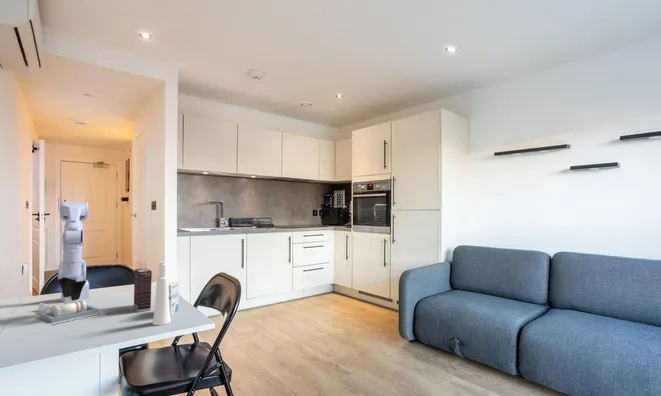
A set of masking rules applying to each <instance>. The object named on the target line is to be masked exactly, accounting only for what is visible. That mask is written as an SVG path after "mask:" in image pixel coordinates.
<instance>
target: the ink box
mask: <svg viewBox="0 0 661 396" xmlns="http://www.w3.org/2000/svg"><path fill="white" fill-rule="evenodd" d="M179 282H180V281H178V280H172V281H171V280H170V281H169V280H168V286H169V311H170V317H172V315H174V314H175V313H177V311H179V287H180V286H179V284H180V283H179Z"/></svg>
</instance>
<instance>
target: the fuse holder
mask: <svg viewBox="0 0 661 396" xmlns="http://www.w3.org/2000/svg"><path fill="white" fill-rule="evenodd" d="M74 302H77V301H71V302H69V298H68V299H64V302H63V303H64V304H70V303H74ZM64 304H63V305H64ZM46 312H51V305H50V304H49V305H45V302H41V303H38V309H36V310H32V313H35V314H37V315H39V316H41V313H46Z"/></svg>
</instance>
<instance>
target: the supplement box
mask: <svg viewBox="0 0 661 396" xmlns="http://www.w3.org/2000/svg"><path fill="white" fill-rule="evenodd" d="M152 274H153V272H152V270H150V269H148V268H145V267H144V268H136V269H134V283H133V284H134V286H133V287H134V288H133V309H134V310H136V312H138V313H140V312H141V313H142V312H146V311H147V312H148V311H151V310H152V309H151V307H152V306H151V305H152Z"/></svg>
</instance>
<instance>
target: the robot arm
mask: <svg viewBox="0 0 661 396" xmlns="http://www.w3.org/2000/svg"><path fill="white" fill-rule="evenodd" d="M59 215H60V216H59V218H60V219H61V221H63V222H64V228H63V232H62V234H61V235H62V236H61V245H62V251H63V253H62V261H61V262H60V263H59V264H58V269H57V270H58V271H57V274H58V275H57V279H56V280H57V282H58V284H59V286H60V288H61V297H60V299H61V300H60V301H61V303H64V299H68V298H69V303H71V301H76V302H78V301H82V300H88V299H89V298H90V297H89V295H90V282H89V281H88V280H87V279H86V278H87V264H86V263H87V262H86V261H85V260H83V245H84V241H85V240H84V238H85V237H84V235H85V234H84V233H85V232H84V229H83V221H87V219H88V215H89V203H88V202H87V201H61V202H60V204H59Z"/></svg>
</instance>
